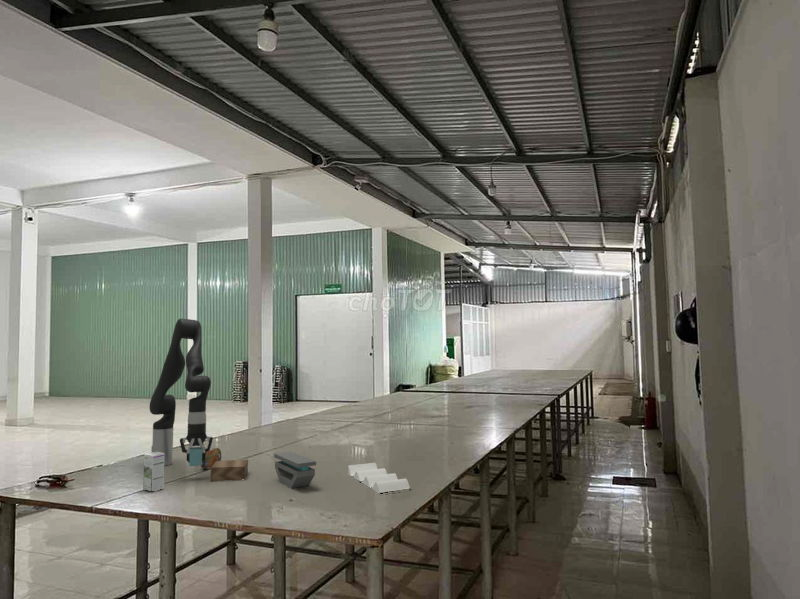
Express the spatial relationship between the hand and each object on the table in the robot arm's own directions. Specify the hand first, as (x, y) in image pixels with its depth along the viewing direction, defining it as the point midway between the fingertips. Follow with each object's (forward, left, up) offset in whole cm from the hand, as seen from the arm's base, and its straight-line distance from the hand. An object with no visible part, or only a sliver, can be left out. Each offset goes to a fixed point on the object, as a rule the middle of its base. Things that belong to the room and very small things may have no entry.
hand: (195, 461), depth 242 cm
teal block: (0, 0, -1) cm, 1 cm away
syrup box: (-15, -14, -8) cm, 22 cm away
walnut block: (+14, 0, -8) cm, 16 cm away
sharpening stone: (+40, -21, -8) cm, 46 cm away
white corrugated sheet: (+74, -30, -8) cm, 80 cm away
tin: (+5, +22, -8) cm, 24 cm away
